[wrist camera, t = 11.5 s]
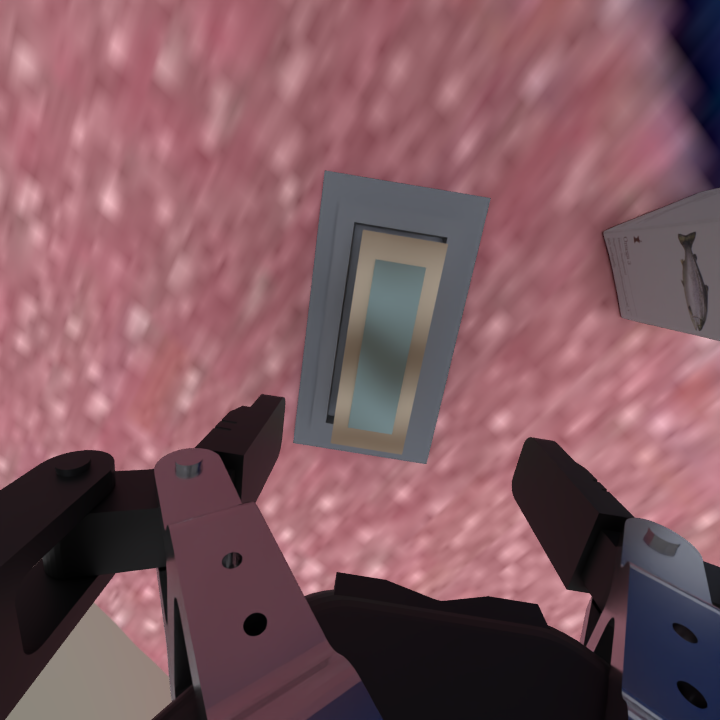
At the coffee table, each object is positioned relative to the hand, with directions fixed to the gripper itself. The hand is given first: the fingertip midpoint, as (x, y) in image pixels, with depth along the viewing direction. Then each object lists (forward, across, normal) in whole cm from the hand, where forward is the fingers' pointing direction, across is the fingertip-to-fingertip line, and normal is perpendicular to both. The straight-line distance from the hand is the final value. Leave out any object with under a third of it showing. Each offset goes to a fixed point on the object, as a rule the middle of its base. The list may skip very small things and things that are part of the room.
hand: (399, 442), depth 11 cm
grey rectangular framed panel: (+18, 0, 0) cm, 18 cm away
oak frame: (+17, 0, 0) cm, 17 cm away
